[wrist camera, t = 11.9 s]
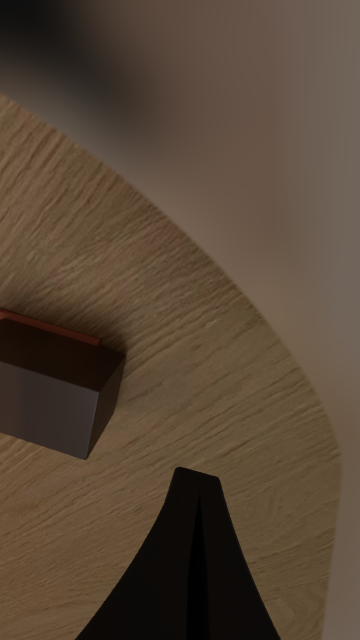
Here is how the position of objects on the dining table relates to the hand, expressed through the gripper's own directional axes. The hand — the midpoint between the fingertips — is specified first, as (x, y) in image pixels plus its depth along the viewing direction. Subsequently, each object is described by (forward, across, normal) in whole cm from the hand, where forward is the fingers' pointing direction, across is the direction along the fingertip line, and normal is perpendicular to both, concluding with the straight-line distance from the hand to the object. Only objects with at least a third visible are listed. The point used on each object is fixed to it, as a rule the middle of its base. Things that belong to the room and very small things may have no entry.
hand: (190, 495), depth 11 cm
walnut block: (+8, +4, +4) cm, 10 cm away
